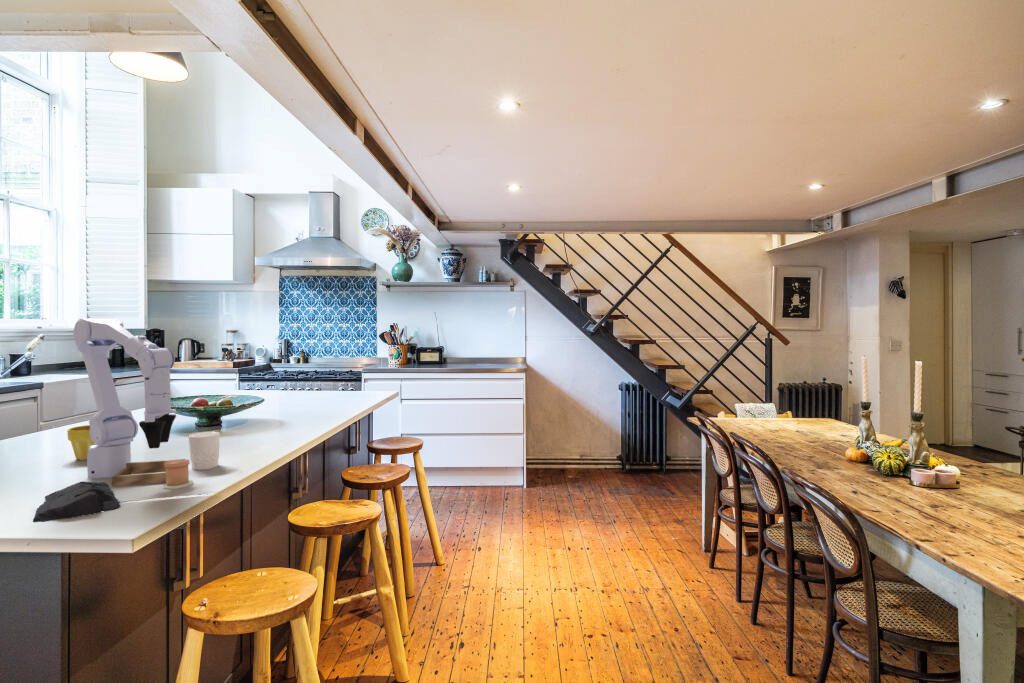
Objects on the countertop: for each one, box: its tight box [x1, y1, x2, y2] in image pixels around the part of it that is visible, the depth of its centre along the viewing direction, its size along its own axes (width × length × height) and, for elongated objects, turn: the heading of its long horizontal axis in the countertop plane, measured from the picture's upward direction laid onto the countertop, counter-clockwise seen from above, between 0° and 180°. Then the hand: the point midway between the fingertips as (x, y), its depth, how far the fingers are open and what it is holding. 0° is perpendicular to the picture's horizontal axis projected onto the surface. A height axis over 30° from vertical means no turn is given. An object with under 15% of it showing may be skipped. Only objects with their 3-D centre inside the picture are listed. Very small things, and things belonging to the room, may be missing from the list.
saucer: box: [162, 479, 194, 490], centre depth 141 cm, size 8×8×1 cm
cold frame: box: [111, 458, 180, 487], centre depth 148 cm, size 14×11×4 cm
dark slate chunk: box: [32, 480, 121, 523], centre depth 128 cm, size 15×22×5 cm
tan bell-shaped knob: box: [164, 458, 191, 486], centre depth 141 cm, size 6×6×6 cm
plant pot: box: [66, 424, 96, 459], centre depth 174 cm, size 10×10×10 cm
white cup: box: [188, 431, 221, 471], centre depth 160 cm, size 8×8×10 cm
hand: (159, 445), depth 146 cm, fingers open, 7 cm apart
